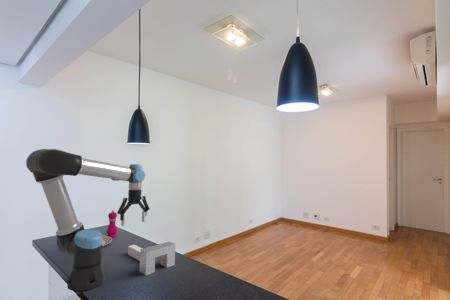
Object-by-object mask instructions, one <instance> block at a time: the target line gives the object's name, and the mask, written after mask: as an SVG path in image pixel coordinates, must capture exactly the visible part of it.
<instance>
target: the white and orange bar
mask: <svg viewBox="0 0 450 300" xmlns="http://www.w3.org/2000/svg"><path fill="white" fill-rule="evenodd" d="M140 249H143V247H140V246H139V245H136V244H132V245H128V247H127V255H128V256H130V257H132V258H134V259H136V260H137V261H138V262H140ZM156 258H157V257H155V260H156Z"/></svg>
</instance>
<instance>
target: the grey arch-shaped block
mask: <svg viewBox="0 0 450 300" xmlns="http://www.w3.org/2000/svg"><path fill="white" fill-rule="evenodd" d="M155 257H156V258H159V257H160V265H161V266H162V267H165V268H170V267H172V266H175V264H176V243H174V242H172V241H166V242H162V243H159V244H154V245H151V246H147V247H144V248H143V247H142V249H140V261H139V270H138V271H139V273H141V274H142V275H144V276H148V275H151V274H154V273H155V271H156V259H155Z"/></svg>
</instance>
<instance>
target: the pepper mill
mask: <svg viewBox="0 0 450 300" xmlns="http://www.w3.org/2000/svg"><path fill="white" fill-rule="evenodd" d="M107 218H108V221H109V223H108V226H107V229H106V234H107V235H106V236H108V237H111V238H112V239H115V238H117V232H118V228H117V225H116V221H117V218H118V214H117V212H115V210H114V209H112V210H111V212H109V213H108V216H107Z"/></svg>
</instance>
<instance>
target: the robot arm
mask: <svg viewBox="0 0 450 300" xmlns="http://www.w3.org/2000/svg"><path fill="white" fill-rule="evenodd" d="M25 165H26V168H27V170H28V171H29V172H30V173H32V176H33V177H34V180H35V182H36V183H38V184H40V185H41V187H42V189H43V193H44V195H45V197H46V200H47V202H48V205H49V208H50V211H51V214H52V216H53V218H54V222H55V224H56V227H57V230H56V231H55V235H56V240H55V243H56V247H57V248H58V250H60V251H61V252H62V253H65V254H68V255H69V256H72V257H73V258H72V260H73V261H72V270H71V272H70V274H69V277H68V280H67V286H66V287H67V289H68V290H70V291H72V292H84V290H85V291H89V290H92V289H95V288H97V287H100V286H101V285H102V284H103V283H105V278H106V277H105V271H104V269H103V265H102V254H103V246H102V242H103V239H102V235H103V234H102V232H101V231H100V230H97V229H92V228H91V229H90V228H89V229H85V227H84V224H83V222H82V221H80V220H78V217H77V215H76V212H75V209H74V206H73V204H72V200H71V197H70V195H69V192H68V189H67V186H66V183H65V181H64V176H73V177H76V176H78V175H82V176H90V177H94V178H95V177H98V178H104V179H111V181H123V182H128V195H127V196H128V197H123V198H122V202H121V204H120V206H119V208H118V210H117V212H116V213H117V215H120V221H121V226H122V227H125V226H126V213H127V211H128V210H129V208H130V207H131V206H133V205H139V208H141V209H142V211H141V222H143V223H146V217H147V213H148V211H150V207H149V204H148V202H147V199H146V197H147V196H145V195H142V182H143V181H144V180H145V178H146V172H145V171H144V169H143V165H142V164H141V163H140V164H139V163H138V164H135V163H133V164H129V166H124V165H120V164H115V163H109V162H104V161H100V160H99V161H98V160H93V159H88V158H83V156H82V155H79V154H75V153H70V152H67V151H64V150H60V149H58V148H57V149H56V148H49V149H47V148H42V149H36V150H35V151H32V152H31V153H30V154H29V155H28V156H27V158H26V160H25ZM141 200H142V201H141Z"/></svg>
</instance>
